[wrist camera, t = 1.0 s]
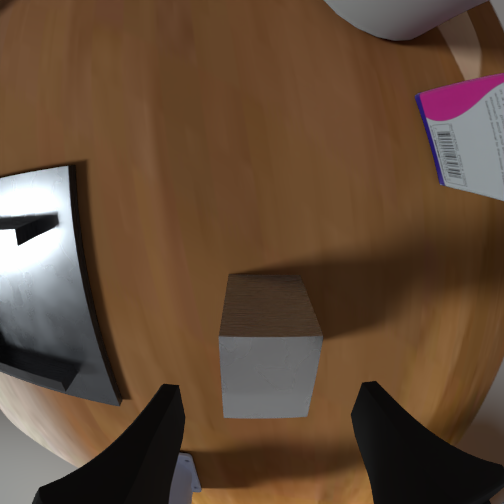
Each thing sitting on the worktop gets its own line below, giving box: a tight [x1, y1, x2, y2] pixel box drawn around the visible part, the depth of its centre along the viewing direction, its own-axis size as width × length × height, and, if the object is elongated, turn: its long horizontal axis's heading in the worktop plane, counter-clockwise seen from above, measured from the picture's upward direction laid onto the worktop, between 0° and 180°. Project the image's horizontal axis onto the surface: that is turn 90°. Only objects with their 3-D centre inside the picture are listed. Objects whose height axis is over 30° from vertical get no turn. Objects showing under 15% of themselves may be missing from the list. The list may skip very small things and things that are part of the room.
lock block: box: [219, 274, 323, 418], centre depth 14 cm, size 5×4×6 cm
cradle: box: [0, 165, 123, 406], centre depth 16 cm, size 18×16×3 cm
